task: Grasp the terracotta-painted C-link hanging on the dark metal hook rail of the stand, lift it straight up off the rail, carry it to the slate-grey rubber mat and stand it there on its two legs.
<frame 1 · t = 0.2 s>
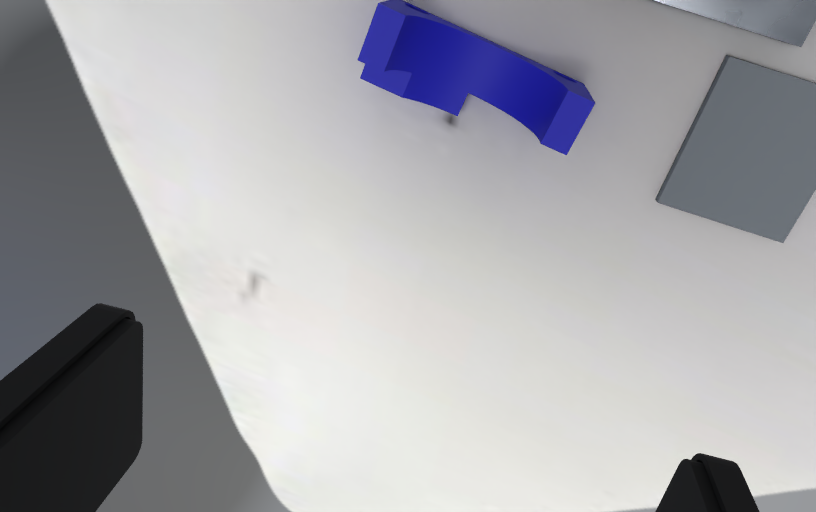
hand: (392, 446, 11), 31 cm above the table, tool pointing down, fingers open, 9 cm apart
blue toy block: (475, 76, 39), on the table
mat: (754, 151, 38), on the table
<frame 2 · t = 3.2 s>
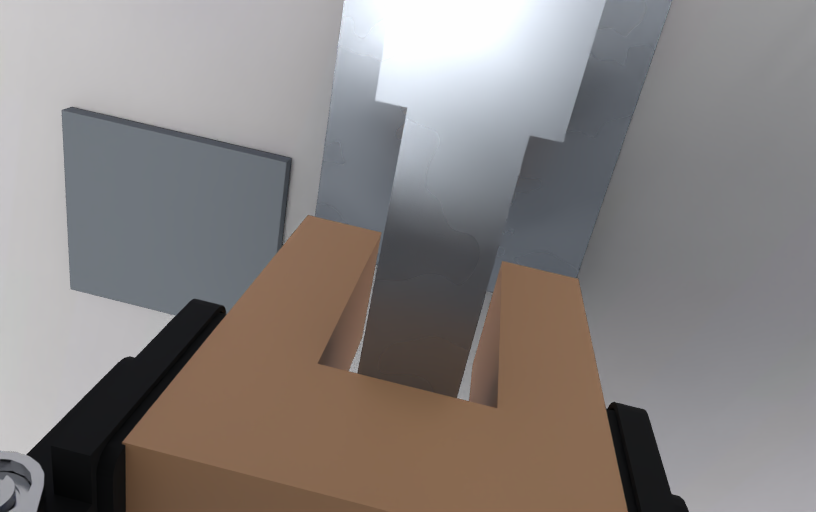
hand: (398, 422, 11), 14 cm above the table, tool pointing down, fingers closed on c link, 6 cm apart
stand: (487, 62, 22), on the table
mat: (177, 225, 27), on the table
c link: (428, 301, 16), point 9 cm above the table, touching gripper, stand
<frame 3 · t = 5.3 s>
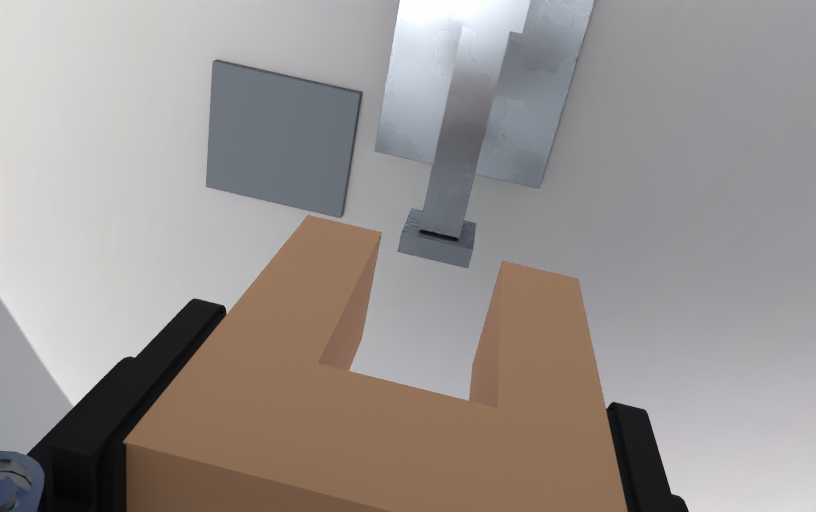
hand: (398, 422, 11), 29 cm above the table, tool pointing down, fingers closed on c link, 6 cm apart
stand: (489, 28, 35), on the table
mat: (282, 140, 40), on the table
c link: (428, 301, 16), point 24 cm above the table, touching gripper
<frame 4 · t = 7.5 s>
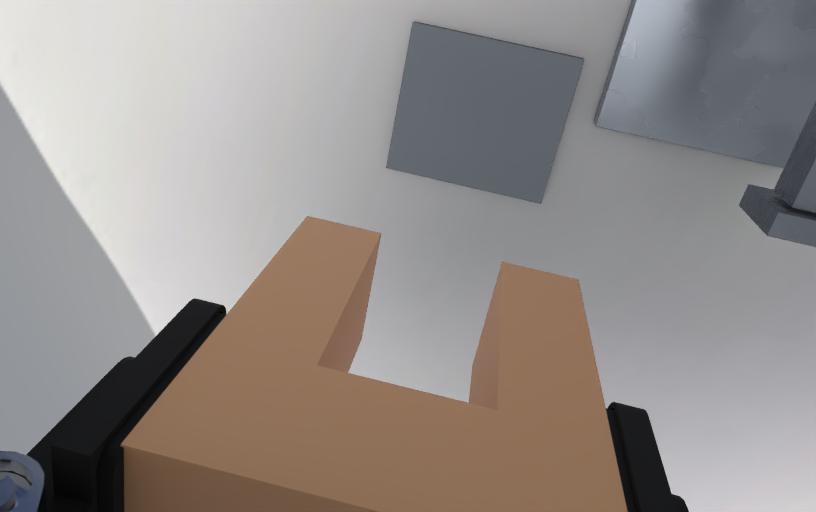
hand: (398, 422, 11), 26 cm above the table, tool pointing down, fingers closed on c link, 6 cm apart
mat: (480, 114, 35), on the table
c link: (428, 302, 16), point 22 cm above the table, touching gripper
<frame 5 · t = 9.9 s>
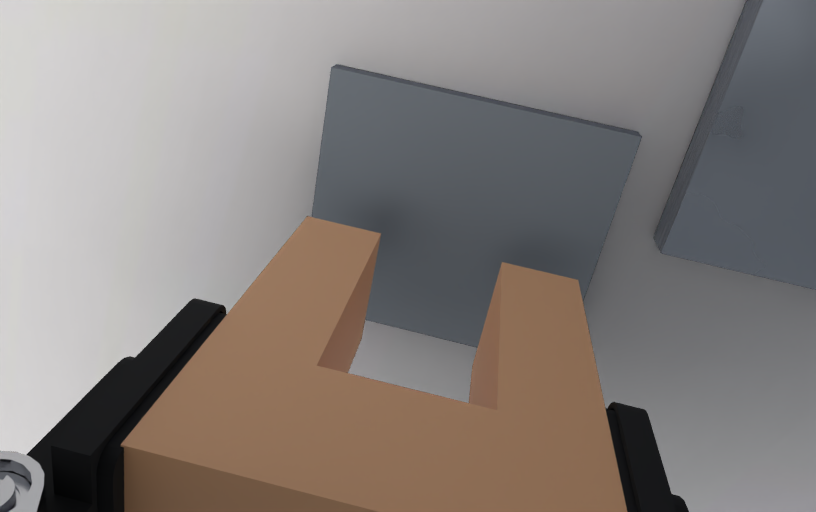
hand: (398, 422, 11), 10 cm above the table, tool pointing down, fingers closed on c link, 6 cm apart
mat: (455, 221, 20), on the table
c link: (428, 302, 16), point 5 cm above the table, touching gripper
when the fingers open (6 cm above the table, at t = 11.9 s): c link stays where it is, resting on mat.
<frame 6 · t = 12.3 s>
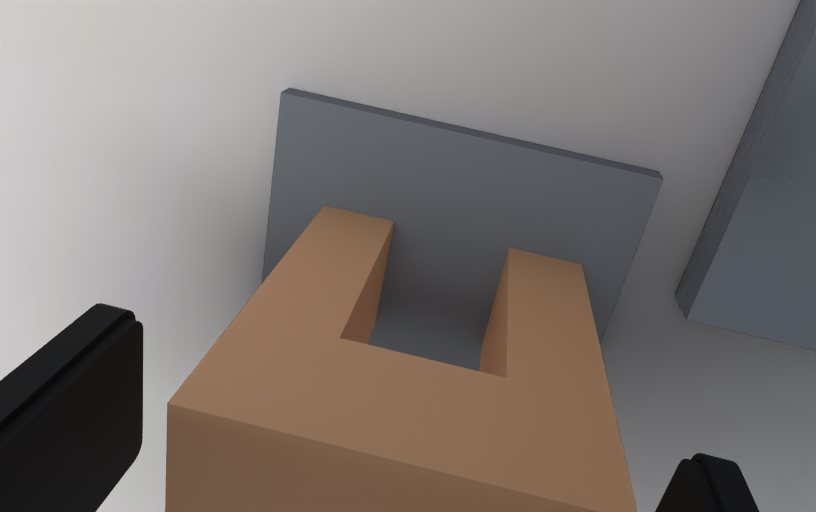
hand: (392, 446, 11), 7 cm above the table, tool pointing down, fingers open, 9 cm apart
mat: (436, 274, 17), on the table
c link: (439, 286, 16), point 1 cm above the table, touching mat
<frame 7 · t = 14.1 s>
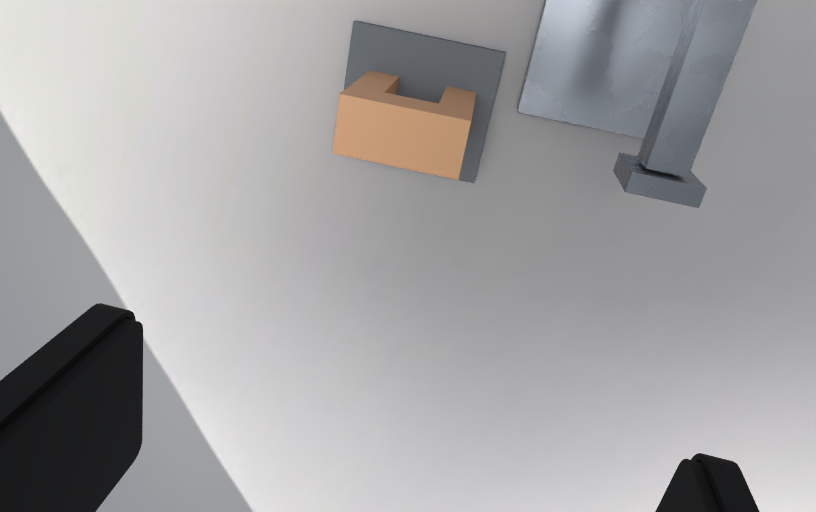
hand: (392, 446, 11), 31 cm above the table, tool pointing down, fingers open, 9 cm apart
mat: (417, 103, 39), on the table
c link: (418, 106, 39), point 1 cm above the table, touching mat
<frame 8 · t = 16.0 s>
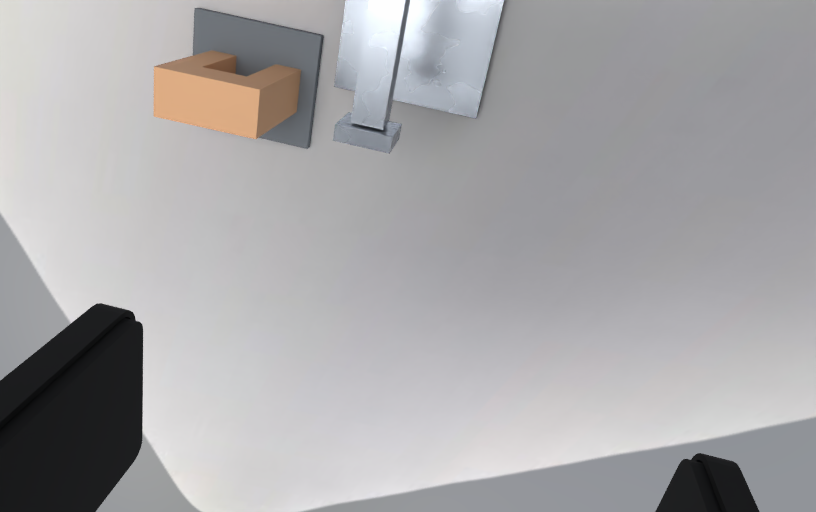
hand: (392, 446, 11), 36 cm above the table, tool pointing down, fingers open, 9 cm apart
mat: (255, 79, 46), on the table
c link: (254, 81, 45), point 1 cm above the table, touching mat
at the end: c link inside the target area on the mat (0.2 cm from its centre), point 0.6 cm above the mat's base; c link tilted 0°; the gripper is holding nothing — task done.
